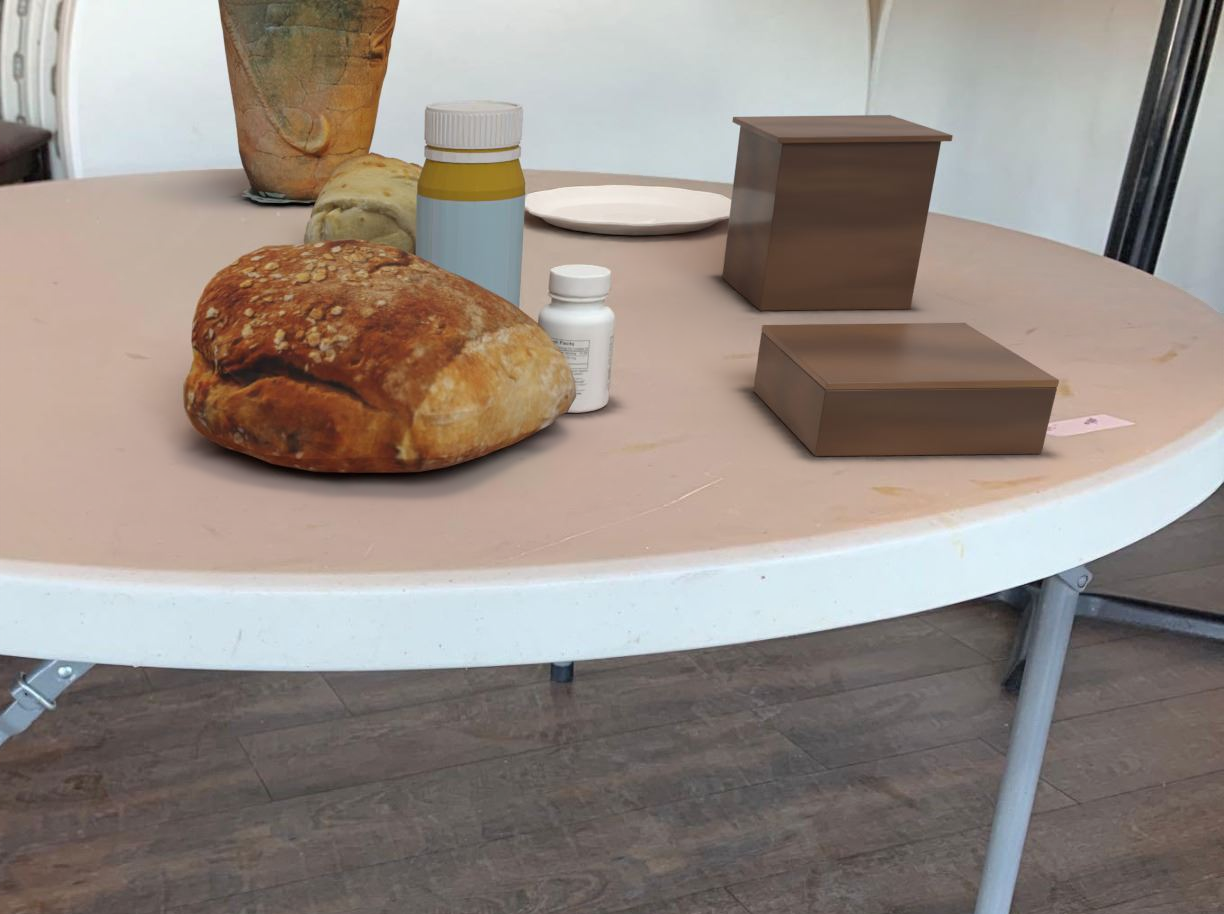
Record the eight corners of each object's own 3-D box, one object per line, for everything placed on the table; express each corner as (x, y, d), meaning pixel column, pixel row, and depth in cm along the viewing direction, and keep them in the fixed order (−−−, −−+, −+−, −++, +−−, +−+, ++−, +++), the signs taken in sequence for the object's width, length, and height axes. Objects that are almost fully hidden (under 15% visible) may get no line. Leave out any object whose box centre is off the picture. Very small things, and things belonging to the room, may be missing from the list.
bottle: (475, 361, 91) (485, 114, 84) (393, 343, 95) (395, 106, 88) (537, 340, 96) (551, 104, 88) (456, 324, 100) (463, 97, 93)
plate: (784, 221, 133) (787, 203, 132) (645, 251, 121) (647, 231, 121) (612, 194, 147) (614, 178, 146) (472, 219, 135) (473, 201, 135)
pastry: (409, 233, 130) (411, 141, 126) (479, 257, 120) (483, 159, 116) (270, 247, 125) (267, 152, 121) (330, 274, 115) (330, 171, 111)
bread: (350, 366, 90) (350, 205, 86) (612, 412, 81) (628, 235, 76) (140, 453, 76) (125, 264, 71) (430, 522, 66) (436, 310, 62)
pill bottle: (573, 388, 86) (583, 258, 82) (623, 405, 82) (636, 271, 79) (517, 400, 84) (525, 268, 80) (567, 418, 80) (577, 281, 77)
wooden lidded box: (1041, 454, 74) (1059, 379, 72) (814, 456, 74) (826, 382, 72) (951, 388, 85) (965, 322, 83) (752, 390, 85) (761, 324, 83)
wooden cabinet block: (920, 310, 102) (953, 135, 96) (754, 312, 102) (778, 137, 96) (863, 274, 112) (890, 114, 107) (713, 276, 112) (732, 116, 107)
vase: (438, 208, 141) (448, -135, 127) (240, 218, 137) (228, -135, 123) (386, 177, 159) (389, -127, 145) (210, 185, 156) (196, -126, 142)
